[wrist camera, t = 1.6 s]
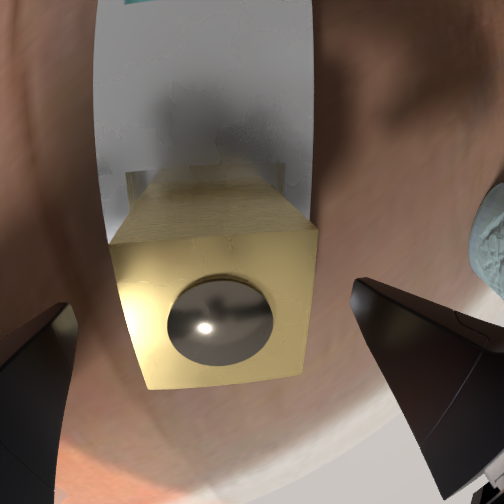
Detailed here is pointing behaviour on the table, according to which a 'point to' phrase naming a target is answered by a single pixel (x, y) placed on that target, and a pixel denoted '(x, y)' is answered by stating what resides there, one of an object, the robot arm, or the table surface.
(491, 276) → the embossed vase
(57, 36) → the table surface
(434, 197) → the table surface
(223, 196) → the block
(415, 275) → the table surface
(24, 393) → the robot arm
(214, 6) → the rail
